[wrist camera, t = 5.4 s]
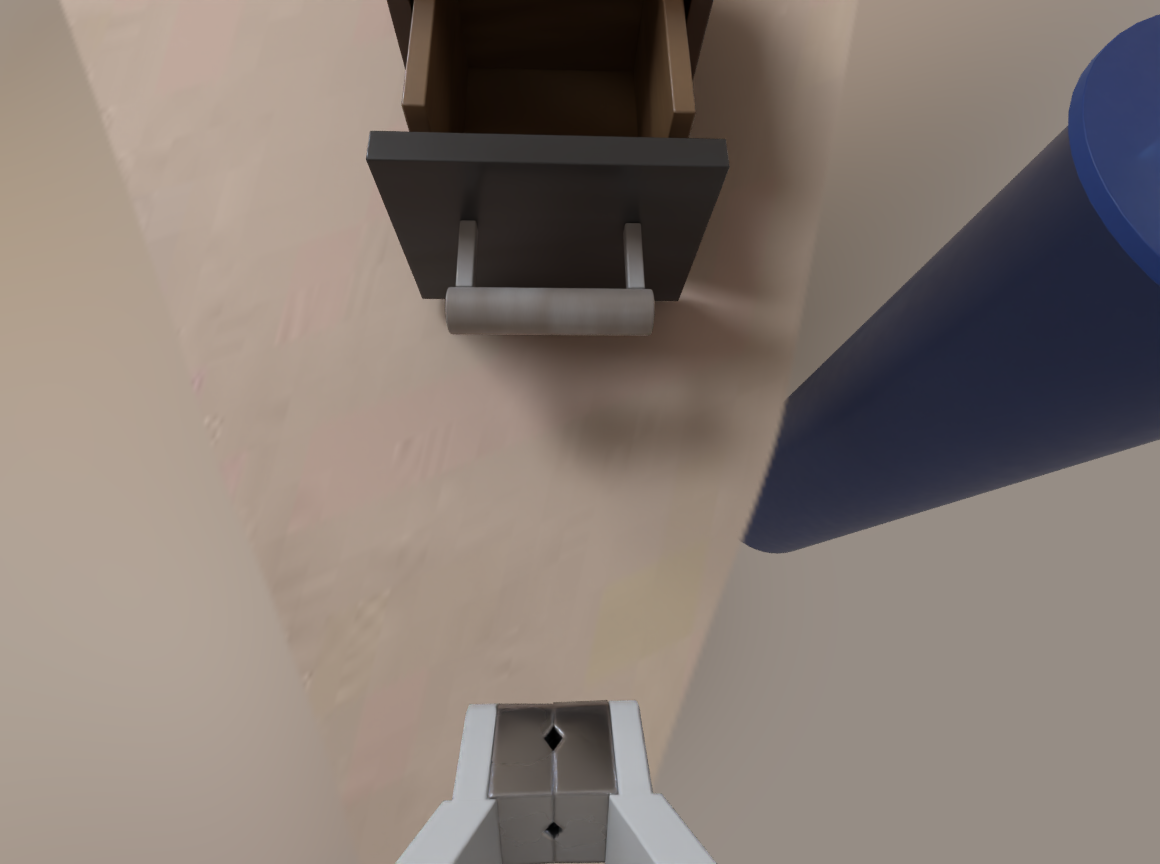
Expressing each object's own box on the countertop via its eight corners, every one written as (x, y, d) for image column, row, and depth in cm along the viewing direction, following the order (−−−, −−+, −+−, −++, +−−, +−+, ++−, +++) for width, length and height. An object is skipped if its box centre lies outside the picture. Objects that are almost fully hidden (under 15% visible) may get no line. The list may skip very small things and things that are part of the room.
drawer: (686, 389, 24) (745, 283, 16) (414, 389, 23) (348, 278, 16) (659, 82, 30) (694, -99, 22) (442, 76, 29) (403, -111, 22)
